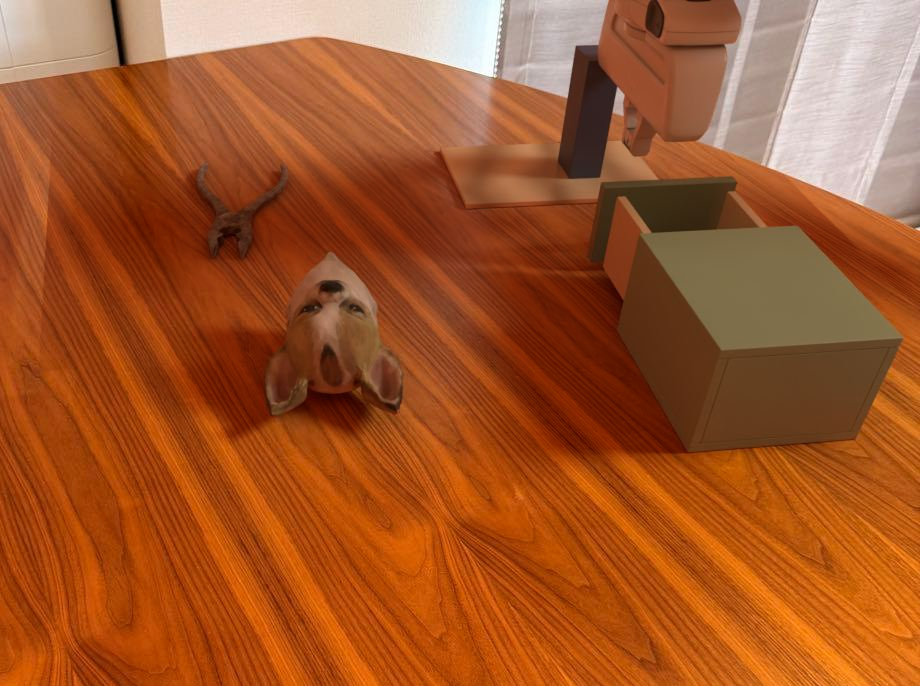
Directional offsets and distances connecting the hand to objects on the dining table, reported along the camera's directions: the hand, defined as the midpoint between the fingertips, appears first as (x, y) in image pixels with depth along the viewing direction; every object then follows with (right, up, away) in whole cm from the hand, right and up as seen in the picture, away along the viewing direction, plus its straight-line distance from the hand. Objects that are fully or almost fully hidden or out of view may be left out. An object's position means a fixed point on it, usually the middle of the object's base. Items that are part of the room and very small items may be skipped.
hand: (634, 150), depth 93 cm
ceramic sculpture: (-28, -25, -15) cm, 40 cm away
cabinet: (+4, -25, -14) cm, 29 cm away
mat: (-6, +2, +13) cm, 14 cm away
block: (-3, +3, +13) cm, 13 cm away
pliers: (-38, -4, +5) cm, 38 cm away
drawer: (+2, -14, -5) cm, 15 cm away
